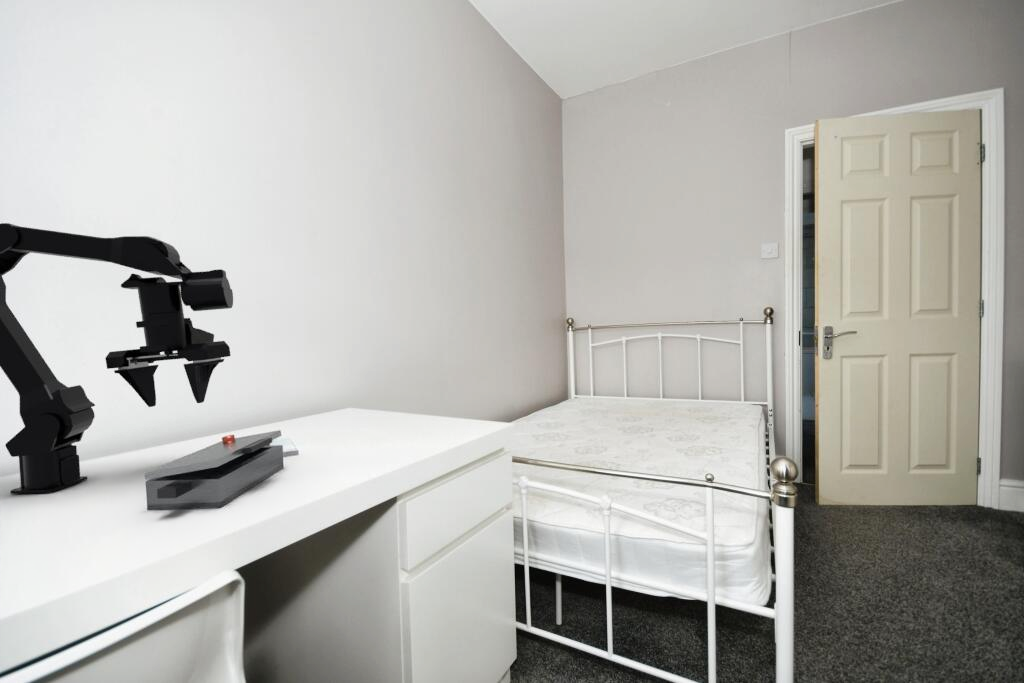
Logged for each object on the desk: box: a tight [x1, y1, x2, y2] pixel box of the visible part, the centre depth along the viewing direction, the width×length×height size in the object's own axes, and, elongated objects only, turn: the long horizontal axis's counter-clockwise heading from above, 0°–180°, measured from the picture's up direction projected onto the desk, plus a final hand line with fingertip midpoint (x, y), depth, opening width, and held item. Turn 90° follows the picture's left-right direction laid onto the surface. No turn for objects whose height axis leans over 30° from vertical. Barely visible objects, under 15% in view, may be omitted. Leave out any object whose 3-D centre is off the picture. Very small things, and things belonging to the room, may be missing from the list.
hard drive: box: [270, 437, 299, 458], centre depth 94 cm, size 2×8×12 cm
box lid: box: [143, 429, 282, 481], centre depth 73 cm, size 12×18×2 cm, turn 0°
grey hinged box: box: [145, 444, 284, 511], centre depth 73 cm, size 10×24×4 cm, turn 0°
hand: (176, 404), depth 80 cm, fingers open, 9 cm apart
